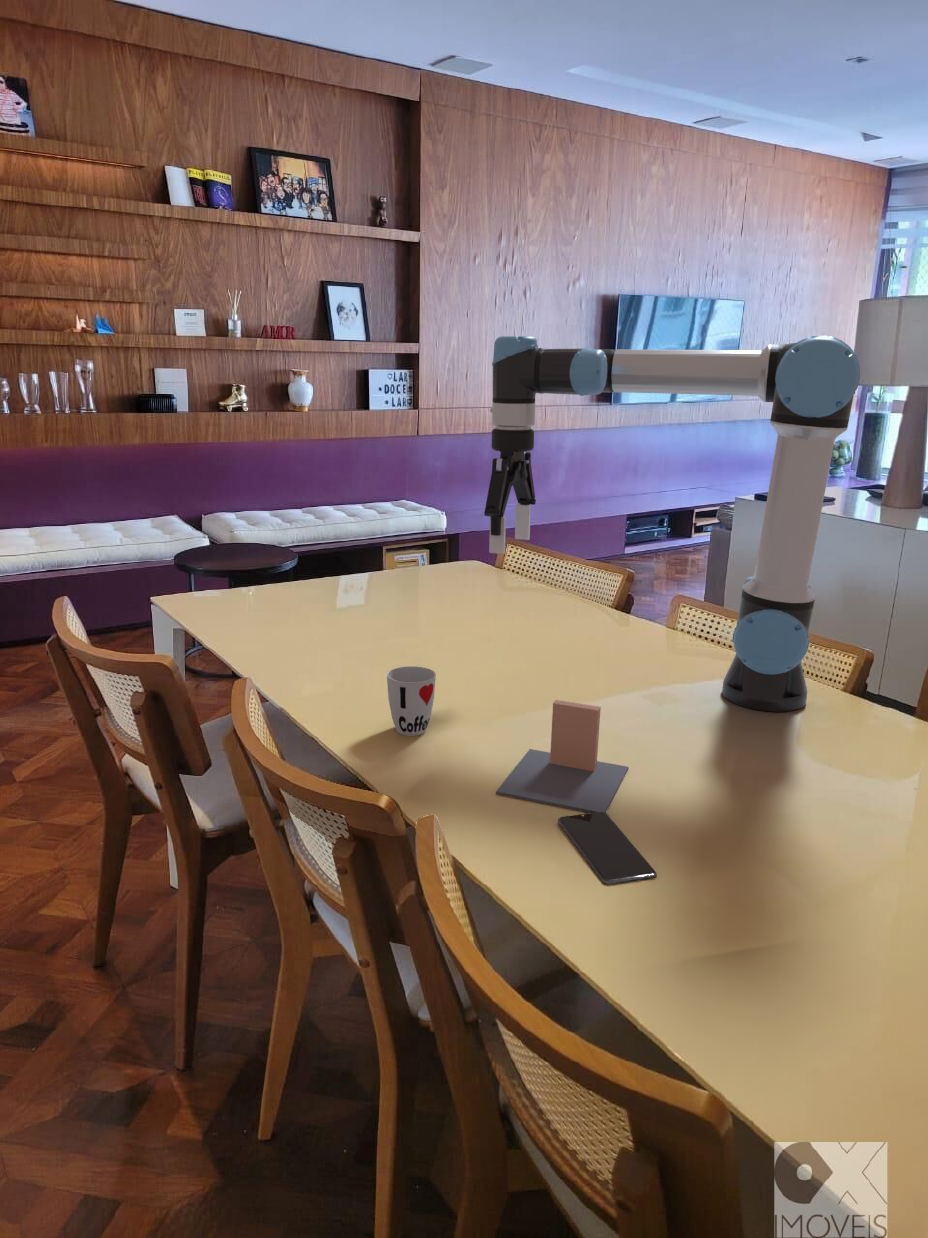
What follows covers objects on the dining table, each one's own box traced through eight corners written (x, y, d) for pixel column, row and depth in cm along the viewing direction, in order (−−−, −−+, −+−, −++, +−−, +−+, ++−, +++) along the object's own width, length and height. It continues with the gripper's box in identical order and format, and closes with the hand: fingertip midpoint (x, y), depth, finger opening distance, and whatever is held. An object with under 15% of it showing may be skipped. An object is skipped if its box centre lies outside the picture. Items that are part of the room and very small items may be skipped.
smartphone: (604, 882, 110) (556, 816, 124) (604, 890, 110) (555, 823, 125) (659, 874, 112) (605, 810, 126) (658, 881, 112) (605, 817, 127)
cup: (392, 741, 149) (391, 684, 146) (383, 722, 156) (382, 667, 153) (440, 737, 151) (440, 680, 148) (428, 718, 158) (429, 664, 156)
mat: (628, 769, 141) (628, 766, 141) (604, 815, 126) (604, 813, 126) (529, 751, 146) (529, 748, 146) (495, 793, 132) (496, 791, 132)
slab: (596, 767, 140) (600, 706, 137) (594, 771, 139) (598, 710, 136) (552, 759, 143) (555, 699, 140) (549, 763, 141) (552, 703, 138)
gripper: (516, 422, 173) (513, 532, 179) (466, 431, 151) (465, 557, 157) (554, 423, 170) (550, 535, 176) (509, 433, 148) (506, 561, 154)
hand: (510, 546), depth 166 cm, fingers open, 13 cm apart
